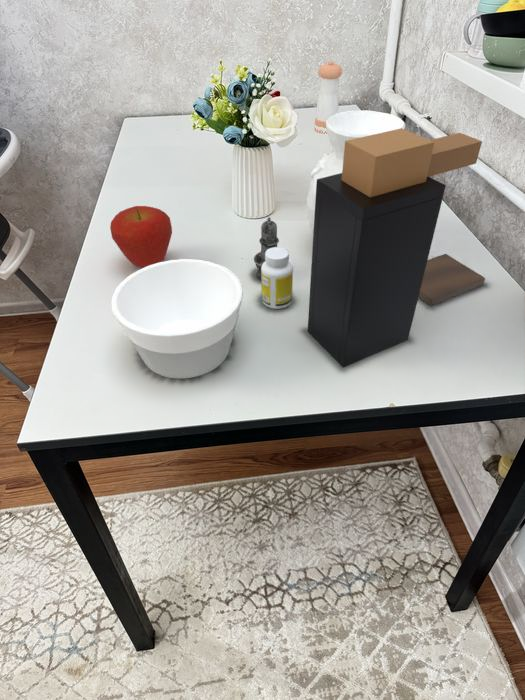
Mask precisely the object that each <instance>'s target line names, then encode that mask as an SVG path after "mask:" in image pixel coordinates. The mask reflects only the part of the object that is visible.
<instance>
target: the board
mask: <svg viewBox="0 0 525 700" xmlns="http://www.w3.org/2000/svg"><path fill="white" fill-rule="evenodd" d="M485 281H486V277H484V276H483V275H481V274H479V273H478V272H476V271H475V270H474V269H471V268H470V267H468V266H467V265H465V264H464V263H462V262H460V261H459V260H457V259H456V258H454V257H453V256H451V255H449V254H447V253H444V254H441V255H438V256H435V257H432V258H430V259H429V258H428V260H427V264H426V269H425V273H424V277H423V281H422V285H421V289H420V293H419V297H418V299H420V300H421V301H423V302H424V303H425V304H426V305H428V306H430V307H432V306H434V305H437V304H439V303H442V302H445V301H447V300H449V299H451V298H454V297H457V296H459V295H461V294H464V293H466V292H469V291H471V290H474V289H476V288H479V287H481V286H483V285H484V284H485Z"/></svg>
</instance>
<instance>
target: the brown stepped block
mask: <svg viewBox="0 0 525 700" xmlns="http://www.w3.org/2000/svg"><path fill="white" fill-rule="evenodd" d="M482 143H483V141H482V140H480V139H477V138H475V137H472V136H469V135H467V134H465V133H462V132H457V133H453V134H449V135H446V136H441V137H437V138H433V139H429V138H425V137H423V136H421V135H419V134H416V133H414V132H412V131H409V130H406V129H402V128H400V129H396V130H392V131H387V132H383V133H378V134H374V135H370V136H365V137H361V138H356V139H352V140H348V141H345V148H344V158H343V169H342V179H341V180H342V181H343V182H345V183H347V184H348V185H350V186H352V187H353V188H355V189H357V190H358V191H360V192H362V193H363V194H365V195H367V196H368V197H370V198H371V197H374V196H378V195H381V194H385V193H388V192H392V191H395V190H399V189H403V188H406V187H410V186H413V185H417V184H420V183H424V182H426V179H427V177H430V178H431V177H433V176H437V175H441V174H444V173H447V172H451V171H454V170H459V169H463V168H465V167H469V166H473V165H476V164H477V161H478V158H479V155H480V151H481V147H482Z"/></svg>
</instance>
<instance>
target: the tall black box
mask: <svg viewBox="0 0 525 700" xmlns="http://www.w3.org/2000/svg"><path fill="white" fill-rule="evenodd" d="M341 179H342V173H340V174H336V175H332V176H328V177H324V178H320V179H317V184H316V199H315V216H314V232H313V233H312V249H311V250H312V251H311V267H310V282H309V283H310V285H309V299H308V301H309V302H308V316H307V333H308V334H309V335H310V336H311V337H312V338H313V339H314V340H315V341H316V342H317V343H318V344H319V345H320V346H321V347H322V348H323V349H324V350H325V351H326V352H327V354H329V355H330V356H331V357H332V359H334V360H335V361H336V362H337V363H338V365H339V366H341V368H346V367H348V366H351V365H353V364H355V363H357V362H360V361H362V360H364V359H367V358H369V357H372V356H374V355H377V354H379V353H381V352H383V351H386V350H389V349H390V348H393V347H395V346H397V345H400V344H402V343H404V342H407V341H408V340H409V338H410V334H411V329H412V325H413V322H414V317H415V314H416V309H417V305H418V302H419V301H418V300H419V293H420V289H421V285H422V281H423V277H424V273H425V269H426V264H427V260H429V255H430V251H431V247H432V244H433V240H434V236H435V232H436V227H437V223H438V219H439V216H440V211H441V207H442V203H443V200H444V195H445V191H446V187H447V185H446V184H444V183H442V182H440V181H438V180H436V179H434V178H432V177H431V176H430V177H427V179H426V182H424V183H420V184H417V185H413V186H410V187H406V188H403V189H399V190H395V191H392V192H388V193H385V194H381V195H378V196H374V197H371V198H370V197H368V196H367V195H365V194H363V193H362V192H360V191H358V190H357V189H355V188H353V187H352V186H350V185H348V184H347V183H345V182H343V181H342V180H341Z"/></svg>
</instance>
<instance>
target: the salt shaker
mask: <svg viewBox="0 0 525 700" xmlns="http://www.w3.org/2000/svg"><path fill="white" fill-rule="evenodd" d="M317 74H318V76H319V78H320V79H319V92H318V99H317V102H316V116H315V118H314V126H315V125H316V126H318V127H323V128H326V120H327V119H328V118H329V117H330V116H331V115H333V114H336V113H339V108H340V107H339V82H340V78H341V77H342V74H343V69H342V66H341V65H339V64H337V63H334V61H332V60H329V61H327V63H323V64H322V65H320V66H319V68H318V70H317ZM321 131H322V130H319V131H318V129H317V130H316V128H315V127H314V132H316V133H317V134H321V135H327V132H326V131H325V132H324V133H323V131H322V132H321ZM325 133H326V134H325Z"/></svg>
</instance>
